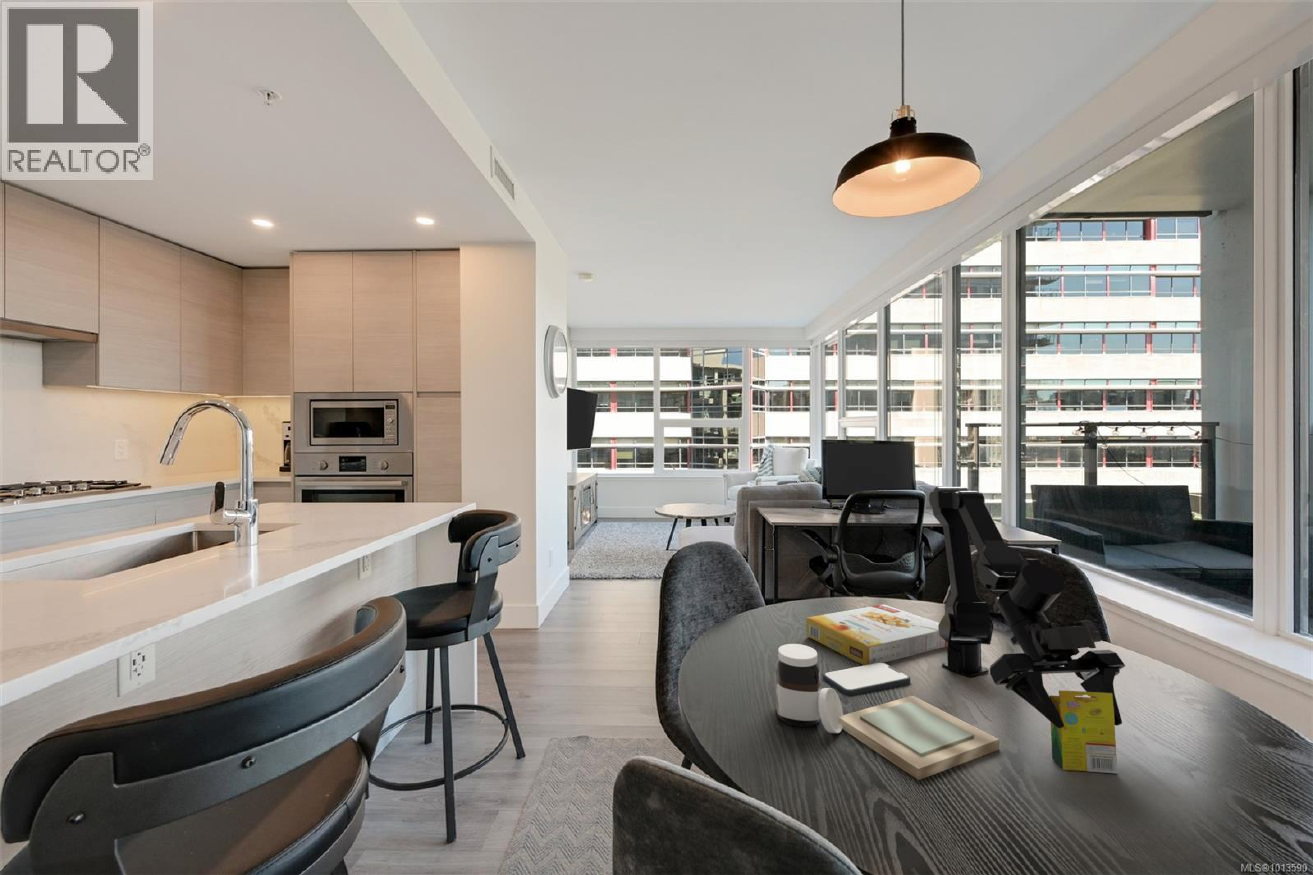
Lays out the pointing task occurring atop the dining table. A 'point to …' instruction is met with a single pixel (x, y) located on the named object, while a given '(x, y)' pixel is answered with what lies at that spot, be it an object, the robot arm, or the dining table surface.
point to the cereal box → (875, 633)
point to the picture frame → (918, 736)
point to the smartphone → (866, 678)
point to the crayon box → (1085, 732)
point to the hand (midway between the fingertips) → (1090, 726)
